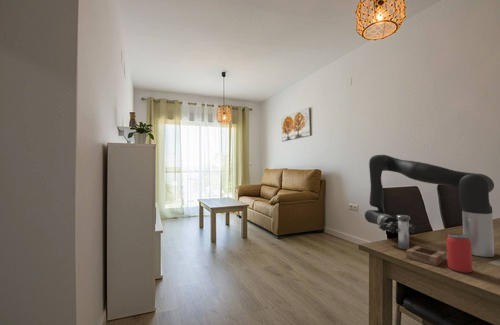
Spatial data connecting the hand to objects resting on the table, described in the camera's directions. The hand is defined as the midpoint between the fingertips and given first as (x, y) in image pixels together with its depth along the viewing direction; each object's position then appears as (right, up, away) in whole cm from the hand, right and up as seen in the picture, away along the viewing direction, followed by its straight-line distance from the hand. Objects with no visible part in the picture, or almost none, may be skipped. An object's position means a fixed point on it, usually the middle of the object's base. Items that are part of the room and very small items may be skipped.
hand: (404, 230), depth 107 cm
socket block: (+1, -8, -12) cm, 14 cm away
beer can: (+5, -8, -23) cm, 24 cm away
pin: (0, -8, 0) cm, 8 cm away
